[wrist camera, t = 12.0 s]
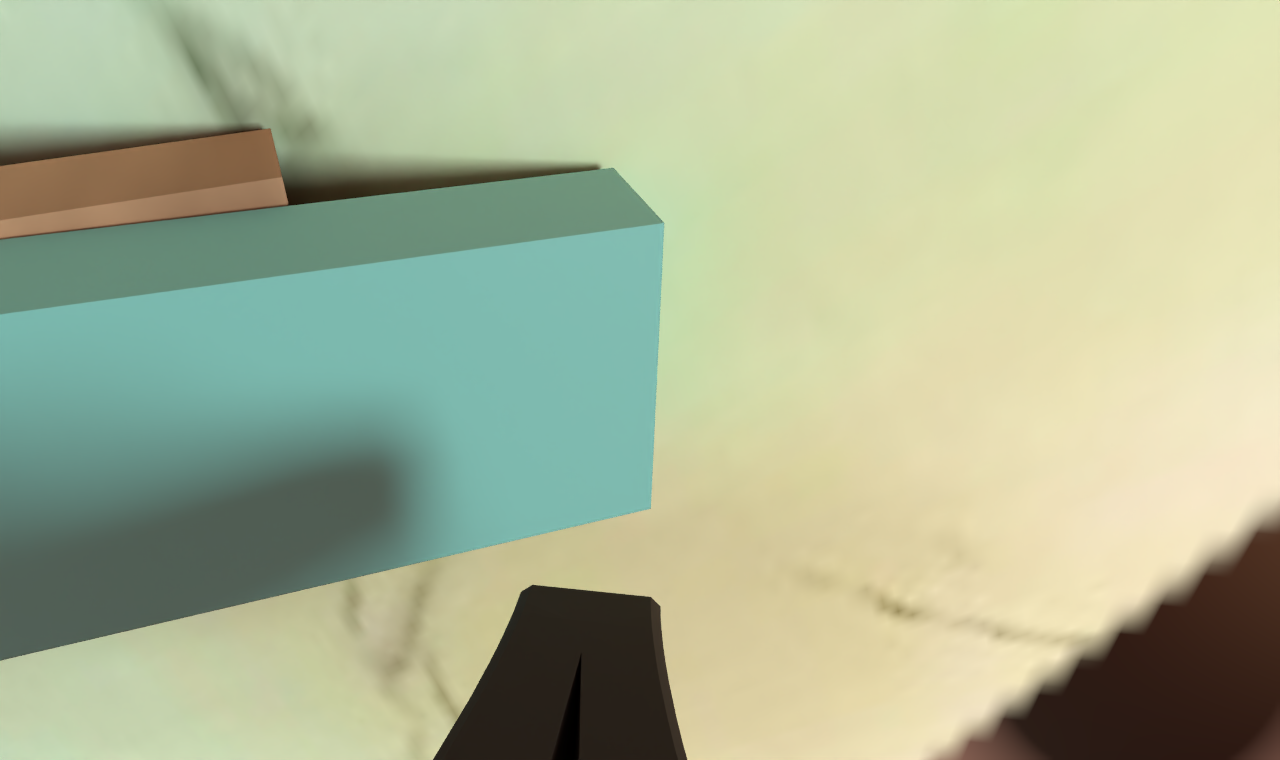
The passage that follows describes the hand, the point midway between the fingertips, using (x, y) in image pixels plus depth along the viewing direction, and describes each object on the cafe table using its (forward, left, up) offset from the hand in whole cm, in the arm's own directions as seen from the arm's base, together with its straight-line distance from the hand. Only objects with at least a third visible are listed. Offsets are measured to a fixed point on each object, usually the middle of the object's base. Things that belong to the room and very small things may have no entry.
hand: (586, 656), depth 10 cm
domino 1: (0, 0, -6) cm, 6 cm away
